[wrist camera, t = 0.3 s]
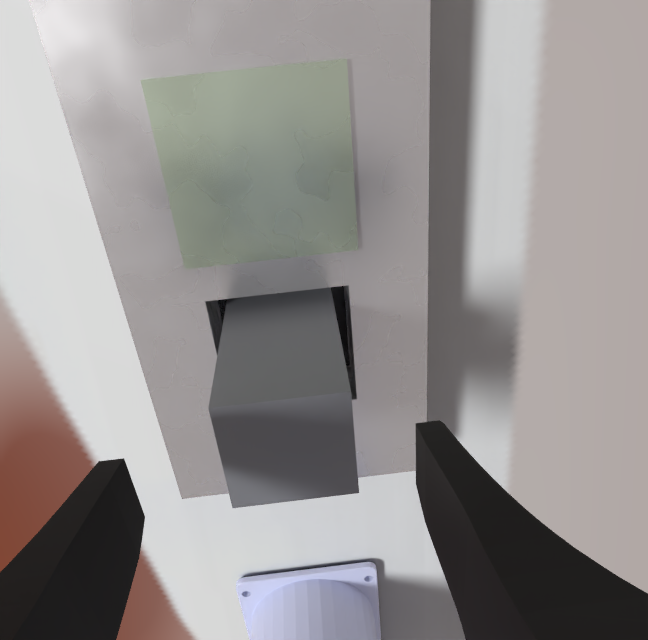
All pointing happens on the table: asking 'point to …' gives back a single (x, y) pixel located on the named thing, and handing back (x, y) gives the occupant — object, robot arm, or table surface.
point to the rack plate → (257, 189)
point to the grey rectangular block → (283, 400)
